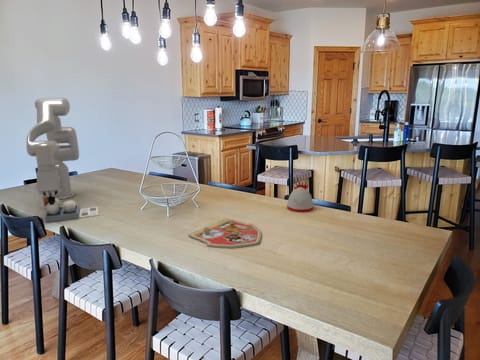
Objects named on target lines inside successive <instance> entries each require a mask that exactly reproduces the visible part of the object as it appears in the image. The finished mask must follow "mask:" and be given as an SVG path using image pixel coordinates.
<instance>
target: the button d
mask: <svg viewBox="0 0 480 360" xmlns="http://www.w3.org/2000/svg"><path fill="white" fill-rule="evenodd" d="M74 202H75V200H72V199H70V200H64V201H63V202H62V205H63V206H62V207H64V210H66V212H72V211H74V210H73V209H74V208H75V206H74Z"/></svg>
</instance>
